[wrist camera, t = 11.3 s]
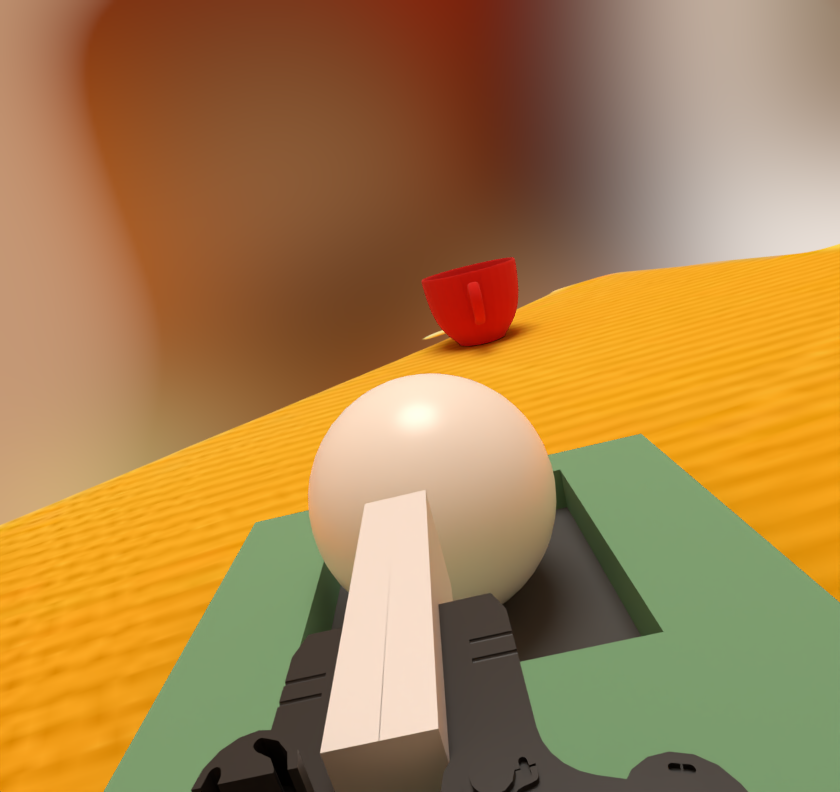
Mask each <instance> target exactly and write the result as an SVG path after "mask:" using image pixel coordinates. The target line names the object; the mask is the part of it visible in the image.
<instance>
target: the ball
mask: <svg viewBox="0 0 840 792" xmlns="http://www.w3.org/2000/svg"><path fill="white" fill-rule="evenodd" d="M423 490H426V494H427V497H428V501H429V505H430V509H431V512H432V516H433V520H434V523H435V527H436V531H437V535H438V538H439V542H440V546H441V550H442V553H443V557H444V561H445V564H446V568H447V572H448V576H449V579H450V583H451V588H452V597H453V601H455V600H460V599H464V598H469V597H473V596H478V595H483V594H487V593H491V594H492V595H493V596H494V597H495V598H496V599H497V600H498V601H499V602H500V603H501V604H503V603H505V602H506V601H508V600H509V599H510V598H511V597H512V596H513V595H514V594H516V593H517V592H518V591H519V590H520V589H521V588H522V587H523V586H524V585H525V583H526V582H527V581H528V580H529V578H530V577H531V576H532V575H533V573H534V572H535V570H536V568H537V567H538V565H539V563H540V561H541V560H542V558H543V556H544V554H545V552H546V549H547V547H548V544H549V542H550V539H551V535H552V530H553V526H554V521H555V514H556V489H555V478H554V474H553V470H552V465H551V462H550V460H549V457H548V454H547V452H546V449H545V447H544V444H543V442H542V441H541V439H540V437H539V435H538V434H537V432H536V430H535V429H534V427H533V426H532V424H531V423H530V422H529V421H528V419H527V418H526V417H525V416H524V415H523V414H522V413H521V412H520V410H519V409H518V408H517V407H515V406H514V405H513V404H512V403H511V402H510V401H508V400H507V399H506V398H504V397H503V396H502V395H500V394H499V393H497V392H495V391H494V390H492V389H490V388H488V387H486V386H484V385H482V384H480V383H478V382H475V381H473V380H469V379H466V378H462V377H457V376H453V375H446V374H418V375H411V376H406V377H401V378H397V379H394V380H391V381H388V382H386V383H384V384H381V385H379V386H377V387H375V388H373V389H372V390H370V391H368V392H367V393H365V394H363V395H362V396H361V397H359V398H358V399H357V400H356V401H354V402H353V403H352V404H351V405H350V406H348V407H347V408H346V409H345V410H344V411H343V413H342V414H341V415H340V416H339V417H338V418H337V420H336V421H335V422H334V423H333V424H332V425H331V427H330V429H329V430H328V432H327V434H326V435H325V437H324V439H323V441H322V442H321V444H320V447H319V449H318V452H317V454H316V456H315V460H314V463H313V467H312V471H311V475H310V480H309V491H308V504H309V518H310V523H311V528H312V533H313V536H314V539H315V541H316V544H317V547H318V550H319V552H320V554H321V556H322V558H323V560H324V562H325V564H326V565H327V567H328V569H329V570H330V572H331V573H332V574H333V576H334V577H335V578H336V580H337V581H338V582H339V584H340V585H342V586H343V587H344V588H345V589H346V590H347V591H348V592H349V589H350V584H351V578H352V573H353V567H354V562H355V556H356V551H357V545H358V539H359V534H360V528H361V523H362V517H363V512H364V506H365V504H367V503H371V502H375V501H380V500H384V499H388V498H393V497H397V496H401V495H406V494H410V493H414V492H419V491H423Z"/></svg>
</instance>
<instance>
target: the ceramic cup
mask: <svg viewBox="0 0 840 792" xmlns="http://www.w3.org/2000/svg"><path fill="white" fill-rule="evenodd" d="M422 286H423V289H424V293H425V296H426V299H427V302H428V305H429V307H430V310H431V312H432V314H433V316H434V318H435V320H436V322H437V323H438V325H439V326H440V327H441V329H442V330H443V331H444V332H445V333H446V334H447V335H448V336H449V337H451V338H452V339H453V340H455V341H456V342H458V343H459V344H460V345H461V346H474V345H480V344H485V343H489V342H492V341H495V340H498V339H500V338H502V337H504V336H505V335H506V331H507V330H508V328H509V326H510V325H511V323H512V321H513V318H514V316H515V313H516V309H517V304H518V280H517V270H516V263H515V259H514V258H512V257H511V258H502V259H496V260H491V261H486V262H482V263H477V264H473V265H469V266H465V267H461V268H457V269H453V270H450V271H446V272H443V273H440V274H436V275H433V276H430V277H428V278H425V279H423V280H422Z"/></svg>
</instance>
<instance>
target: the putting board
mask: <svg viewBox="0 0 840 792" xmlns="http://www.w3.org/2000/svg"><path fill="white" fill-rule="evenodd" d="M548 457H549V460H550V462H551V465H552V470H553V474H554V478H555V489H556V514H555V521H554V526H553V530H552V535H551V539H550V542H549V544H548V547H547V549H546V552H545V554H544V556H543V558H542V560H541V561H540V563H539V565H538V567H537V568H536V570H535V572H534V573H533V575H532V576H531V577H530V578H529V580H528V581H527V582H526V583H525V585H524V586H523V587H522V588H521V589H520V590H519V591H518V592H517V593H516V594H514V595H513V596H512V597H511V598H510V599H509V600H508V601H506V602H505V603H503V604H502V605H503V606H504V607H505V608H506V610H507V614H508V617H509V621H510V625H511V629H512V633H513V637H514V641H515V645H516V649H517V653H518V656H519V660H520V664H521V668H522V672H523V676H524V680H525V684H526V688H527V691H528V695H529V699H530V703H531V707H532V711H533V715H534V719H535V723H536V727H537V729H538V732H539V734H540V737H541V739H542V741H543V742H544V744H545V745H546V746H547V748H548V749H549V750H550V752H551V753H552V754H554V755H555V756H556V757H557V758H558V759H560V760H561V761H562V762H563V763H565V764H567V765H569V766H571V767H573V768H575V769H577V770H579V771H583V772H587V773H591V774H595V775H601V776H608V777H616V778H623V779H627V778H628V775H629V773H630V771H631V769H632V768H634V767H635V766H636V765H638V764H639V763H640V762H641V761H643V760H644V759H645V758H647V757H648V756H652V755H657V754H661V753H665V752H669V751H670V752H679V753H687V754H694V755H697V756H699V757H701V758H704V759H706V760H708V761H710V762H713V763H715V764H717V765H719V766H720V767H722V768H723V769H724V770H725V771H726V772H728V773H729V774H730V775H731V776H732V777H734V778H735V779H736V780H737V781H738V782H740V783H741V784H742V785H743V787H744V788H745V789H746V790H747V791H748V792H840V602H838V601H837V600H836V599H835V598H834V597H833V596H831V595H830V594H829V593H828V592H827V591H825V590H824V589H823V588H822V587H821V586H820V585H818V584H817V583H816V582H815V581H814V580H813V579H811V578H810V577H809V576H808V575H807V574H805V573H804V572H803V571H802V570H801V569H800V568H798V567H797V566H796V565H795V564H794V563H793V562H791V561H790V560H789V559H788V558H787V557H785V556H784V555H783V554H782V553H781V552H780V551H778V550H777V549H776V548H775V547H774V546H772V545H771V544H770V543H769V542H768V541H767V540H765V539H764V538H763V537H762V536H761V535H760V534H758V533H757V532H756V531H755V530H754V529H752V528H751V527H750V526H749V525H748V524H747V523H745V522H744V521H743V520H742V519H741V518H740V517H738V516H737V515H736V514H735V513H734V512H732V511H731V510H730V509H729V508H728V507H727V506H725V505H724V504H723V503H722V502H721V501H720V500H718V499H717V498H716V497H715V496H714V495H712V494H711V493H710V492H709V491H708V490H707V489H705V488H704V487H703V486H702V485H701V484H700V483H698V482H697V481H696V480H695V479H694V478H692V477H691V476H690V475H689V474H688V473H687V472H685V471H684V470H683V469H682V468H681V467H679V466H678V465H677V464H676V463H675V462H674V461H672V460H671V459H670V458H669V457H668V456H667V455H665V454H664V453H663V452H662V451H661V450H659V449H658V448H657V447H656V446H655V445H654V444H652V443H651V442H650V441H649V440H648V439H647V438H645V437H644V436H643V435H642V434H638V435H634V436H630V437H625V438H621V439H617V440H612V441H608V442H604V443H599V444H595V445H590V446H586V447H582V448H577V449H573V450H569V451H564V452H560V453H556V454H551V455H548ZM348 595H349V592H348V591H347V590H346V589H345V588H344V587H343V586H342V585H340V584H339V582H338V581H337V580H336V578H335V577H334V576H333V574H332V573H331V572H330V570H329V569H328V567H327V565H326V564H325V562H324V560H323V558H322V556H321V554H320V552H319V550H318V547H317V544H316V541H315V539H314V536H313V533H312V528H311V523H310V518H309V510H308V511H304V512H299V513H295V514H291V515H286V516H282V517H278V518H273V519H269V520H265V521H260V522H256V523H255V524H254V526H253V528H252V530H251V532H250V533H249V535H248V537H247V539H246V540H245V542H244V544H243V546H242V547H241V549H240V551H239V553H238V555H237V556H236V558H235V560H234V562H233V563H232V565H231V567H230V569H229V571H228V572H227V574H226V576H225V578H224V579H223V581H222V583H221V585H220V586H219V588H218V590H217V592H216V594H215V595H214V597H213V599H212V601H211V602H210V604H209V606H208V608H207V609H206V611H205V613H204V615H203V617H202V618H201V620H200V622H199V624H198V625H197V627H196V629H195V631H194V633H193V634H192V636H191V638H190V640H189V641H188V643H187V645H186V647H185V648H184V650H183V652H182V654H181V656H180V657H179V659H178V661H177V663H176V664H175V666H174V668H173V670H172V671H171V673H170V675H169V677H168V679H167V680H166V682H165V684H164V686H163V687H162V689H161V691H160V693H159V695H158V696H157V698H156V700H155V702H154V703H153V705H152V707H151V709H150V710H149V712H148V714H147V716H146V718H145V719H144V721H143V723H142V725H141V726H140V728H139V730H138V732H137V733H136V735H135V737H134V739H133V741H132V742H131V744H130V746H129V748H128V749H127V751H126V753H125V755H124V757H123V758H122V760H121V762H120V764H119V765H118V767H117V769H116V771H115V772H114V774H113V776H112V778H111V780H110V781H109V783H108V785H107V787H106V788H105V790H104V792H191V789H192V787H193V785H194V784H195V782H196V780H197V778H198V777H199V775H200V773H201V771H202V770H203V768H204V767H205V766H206V765H207V764H208V763H209V762H210V761H211V760H212V759H213V758H214V757H215V756H216V754H217V753H218V752H219V751H221V750H222V749H223V748H225V747H226V746H228V745H229V744H231V743H232V742H234V741H235V740H237V739H238V738H240V737H242V736H245V735H248V734H250V733H253V732H256V731H258V730H271V728H272V725H273V721H274V718H275V714H276V711H277V707H279V706H280V705H279V700H280V697H281V694H282V690H283V687H284V686H285V680H286V676H287V673H288V669H289V666H290V662H291V659H292V657H293V655H294V654H295V653H296V651H297V650H298V648H299V647H300V646H301V644H302V643H303V642H304V640H305V639H306V637H307V636H308V635H310V634H314V633H319V632H324V631H328V630H333V629H337V628H342V627H343V623H344V617H345V612H346V606H347V601H348Z"/></svg>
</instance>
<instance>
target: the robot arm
mask: <svg viewBox="0 0 840 792" xmlns="http://www.w3.org/2000/svg"><path fill="white" fill-rule="evenodd" d="M279 705H280V706H279V707H277V711H276V714H275V718H274V721H273V725H272V728H271V730H258V731H256V732H253V733H250V734H248V735H245V736H242V737H240V738H238V739H237V740H235V741H234V742H232V743H231V744H229V745H228V746H226V747H225V748H223V749H222V750H221V751H219V752H218V753H217V754H216V756H215V757H214V758H213V759H212V760H211V761H210V762H209V763H208V764H207V765H206V766H205V767H204V768H203V770H202V771H201V773H200V775H199V777H198V778H197V780H196V782H195V784H194V785H193V787H192V789H191V792H748V791H747V790H746V789H745V788H744V787H743V785H742V784H741V783H740V782H738V781H737V780H736V779H735V778H734V777H732V776H731V775H730V774H729V773H728V772H726V771H725V770H724V769H723V768H722V767H720V766H719V765H717V764H715V763H713V762H710V761H708V760H706V759H704V758H701V757H699V756H697V755H694V754H687V753H679V752H670V751H669V752H665V753H661V754H657V755H652V756H648V757H647V758H645V759H644V760H643V761H641V762H640V763H639V764H638V765H636V766H635V767H634V768H632V769H631V771H630V773H629V775H628V778H627V779H623V778H616V777H608V776H601V775H595V774H591V773H587V772H583V771H579V770H577V769H575V768H573V767H571V766H569V765H567V764H565V763H563V762H562V761H561V760H560V759H558V758H557V757H556V756H555V755H554V754H552V753H551V752H550V750H549V749H548V748H547V746H546V745H545V744H544V742H543V741H542V739H541V737H540V734H539V732H538V729H537V727H536V723H535V719H534V715H533V711H532V707H531V703H530V699H529V695H528V691H527V688H526V684H525V680H524V676H523V672H522V668H521V664H520V660H519V656H518V653H517V649H516V645H515V641H514V637H513V633H512V629H511V625H510V621H509V617H508V614H507V610H506V608H505V607H504V606H503V605H502V604H501V603H500V602H499V601H498V600H497V599H496V598H495V597H494V596H493V595H492V594H491V593H487V594H483V595H478V596H473V597H469V598H464V599H460V600H455V601H453V597H452V588H451V583H450V579H449V576H448V572H447V568H446V564H445V561H444V557H443V553H442V550H441V546H440V542H439V538H438V535H437V531H436V527H435V523H434V520H433V516H432V512H431V509H430V505H429V501H428V497H427V494H426V490H423V491H419V492H414V493H410V494H406V495H401V496H397V497H393V498H388V499H384V500H380V501H375V502H371V503H367V504H365V506H364V512H363V517H362V523H361V528H360V534H359V539H358V545H357V551H356V556H355V562H354V567H353V573H352V578H351V584H350V589H349V595H348V601H347V606H346V612H345V617H344V623H343V627H342V628H337V629H333V630H328V631H324V632H319V633H314V634H310V635H308V636H307V637H306V639H305V640H304V642H303V643H302V644H301V646H300V647H299V648H298V650H297V651H296V653H295V654H294V655H293V657H292V659H291V662H290V666H289V669H288V673H287V676H286V680H285V686H284V687H283V690H282V694H281V697H280V700H279Z"/></svg>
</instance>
